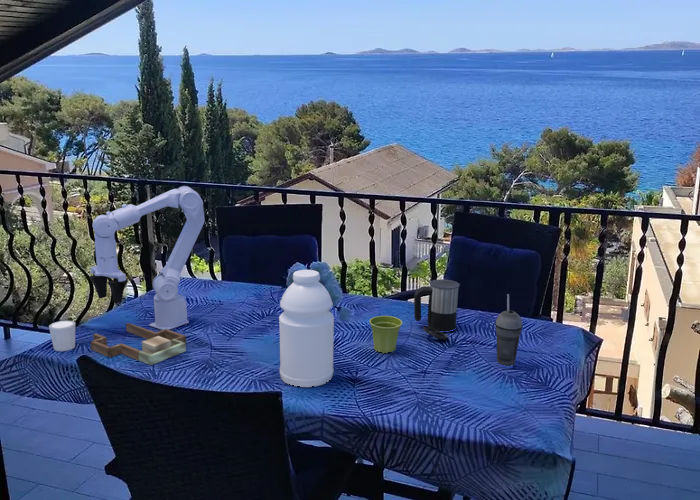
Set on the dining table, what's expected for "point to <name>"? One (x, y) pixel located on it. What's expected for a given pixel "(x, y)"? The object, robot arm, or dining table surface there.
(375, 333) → the plant pot
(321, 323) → the bottle
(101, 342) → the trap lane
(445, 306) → the milk frother
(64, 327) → the white tapered cup
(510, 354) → the beverage cup
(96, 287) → the robot arm
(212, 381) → the dining table surface
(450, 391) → the dining table surface
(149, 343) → the oak block
